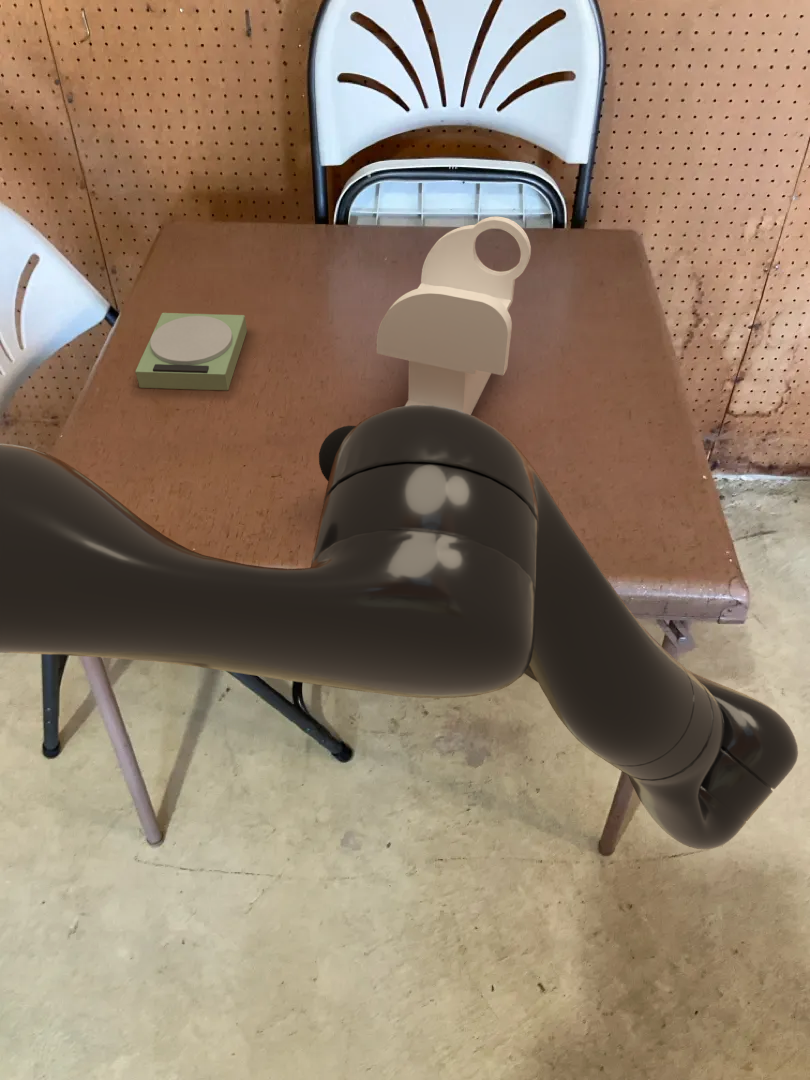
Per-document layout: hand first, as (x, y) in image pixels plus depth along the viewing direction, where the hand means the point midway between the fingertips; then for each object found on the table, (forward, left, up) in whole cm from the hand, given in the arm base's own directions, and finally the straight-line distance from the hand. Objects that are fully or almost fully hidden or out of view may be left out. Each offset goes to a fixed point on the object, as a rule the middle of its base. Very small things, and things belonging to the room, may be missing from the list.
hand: (396, 501), depth 72 cm
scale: (-5, +38, -7) cm, 39 cm away
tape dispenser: (+17, +16, -7) cm, 25 cm away
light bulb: (-1, +6, -7) cm, 9 cm away
